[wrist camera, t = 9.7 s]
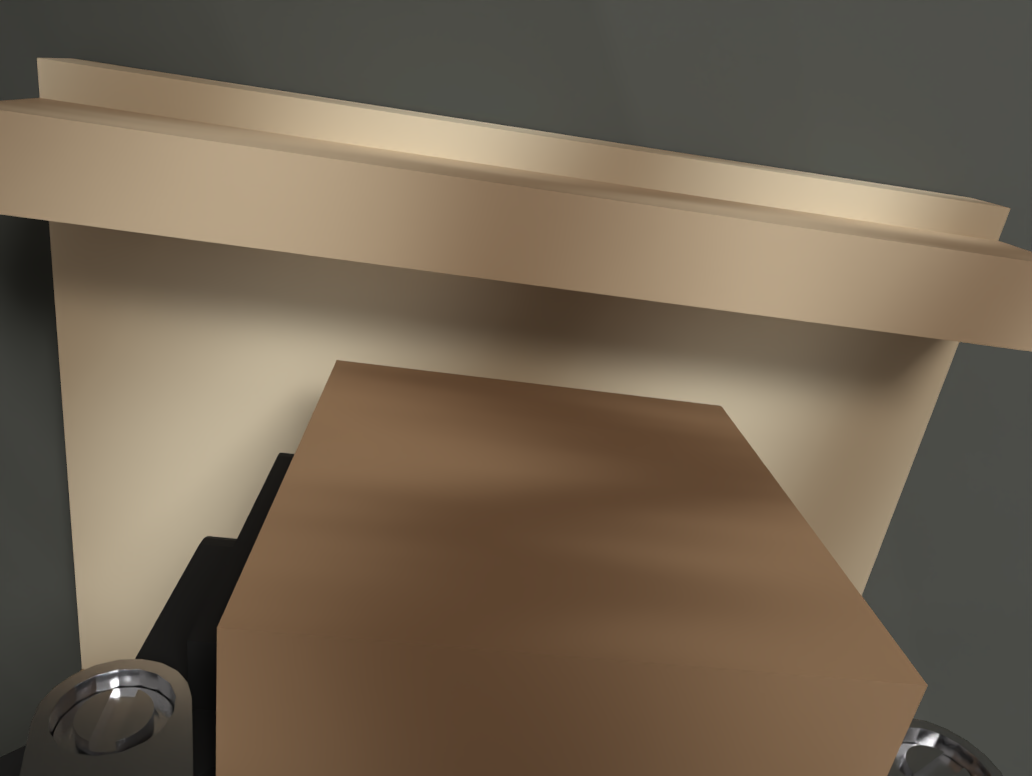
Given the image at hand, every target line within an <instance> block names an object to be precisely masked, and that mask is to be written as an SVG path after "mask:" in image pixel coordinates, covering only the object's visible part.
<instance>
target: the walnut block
mask: <svg viewBox="0 0 1032 776" xmlns="http://www.w3.org/2000/svg"><path fill="white" fill-rule="evenodd" d="M927 686H928V685H927V684H926V683H925V681H924V680H923V678H922V677H921V676H920V674H919V673H918V672H917V670H916V669H915V668H914V666H913V665H912V664H911V662H910V661H909V660H908V658H907V657H906V655H905V654H904V653H903V651H902V650H901V649H900V647H899V646H898V645H897V643H896V642H895V641H894V639H893V638H892V636H891V635H890V634H889V632H888V631H887V630H886V628H885V627H884V626H883V624H882V623H881V622H880V620H879V619H878V618H877V616H876V615H875V613H874V612H873V611H872V609H871V608H870V607H869V605H868V604H867V603H866V601H865V600H864V599H863V597H862V596H861V594H860V593H859V592H858V590H857V589H856V588H855V586H854V585H853V584H852V582H851V581H850V580H849V578H848V577H847V576H846V574H845V573H844V571H843V570H842V569H841V567H840V566H839V565H838V563H837V562H836V561H835V559H834V558H833V557H832V555H831V554H830V552H829V551H828V550H827V548H826V547H825V546H824V544H823V543H822V542H821V540H820V539H819V538H818V536H817V535H816V534H815V532H814V531H813V529H812V528H811V527H810V525H809V524H808V523H807V521H806V520H805V519H804V517H803V516H802V515H801V513H800V512H799V510H798V509H797V508H796V506H795V505H794V504H793V502H792V501H791V500H790V498H789V497H788V496H787V494H786V493H785V492H784V490H783V489H782V487H781V486H780V485H779V483H778V482H777V481H776V479H775V478H774V477H773V475H772V474H771V473H770V471H769V470H768V468H767V467H766V466H765V464H764V463H763V462H762V460H761V459H760V458H759V456H758V455H757V454H756V452H755V451H754V449H753V448H752V447H751V445H750V444H749V443H748V441H747V440H746V439H745V437H744V436H743V435H742V433H741V432H740V431H739V429H738V428H737V426H736V425H735V424H734V422H733V421H732V420H731V418H730V417H729V416H728V414H727V413H726V412H725V410H724V409H723V407H722V406H719V405H710V404H702V403H694V402H685V401H677V400H668V399H660V398H652V397H643V396H635V395H627V394H618V393H610V392H601V391H593V390H585V389H576V388H568V387H559V386H551V385H543V384H534V383H526V382H518V381H509V380H501V379H492V378H484V377H476V376H467V375H459V374H450V373H442V372H434V371H425V370H417V369H409V368H400V367H392V366H383V365H375V364H367V363H358V362H350V361H342V360H336V363H335V365H334V367H333V369H332V372H331V374H330V376H329V378H328V381H327V383H326V385H325V387H324V389H323V392H322V394H321V396H320V398H319V401H318V403H317V405H316V407H315V410H314V412H313V414H312V416H311V419H310V421H309V423H308V425H307V428H306V430H305V432H304V434H303V436H302V439H301V441H300V443H299V445H298V448H297V450H296V452H295V454H294V457H293V459H292V461H291V463H290V466H289V468H288V470H287V472H286V474H285V477H284V479H283V481H282V483H281V486H280V488H279V490H278V492H277V495H276V497H275V499H274V501H273V504H272V506H271V508H270V510H269V512H268V515H267V517H266V519H265V521H264V524H263V526H262V528H261V530H260V533H259V535H258V537H257V539H256V542H255V544H254V546H253V548H252V550H251V553H250V555H249V557H248V559H247V562H246V564H245V566H244V568H243V571H242V573H241V575H240V577H239V580H238V582H237V584H236V586H235V588H234V591H233V593H232V595H231V597H230V600H229V602H228V604H227V606H226V609H225V611H224V613H223V615H222V618H221V620H220V622H219V624H218V626H217V684H216V776H887V775H888V773H889V771H890V768H891V766H892V764H893V762H894V759H895V757H896V755H897V753H898V751H899V748H900V746H901V744H902V742H903V739H904V737H905V735H906V733H907V730H908V728H909V726H910V724H911V721H912V719H913V717H914V715H915V713H916V710H917V708H918V706H919V704H920V701H921V699H922V697H923V695H924V692H925V690H926V688H927Z"/></svg>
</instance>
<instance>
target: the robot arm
mask: <svg viewBox="0 0 1032 776" xmlns="http://www.w3.org/2000/svg"><path fill="white" fill-rule="evenodd" d="M293 457H294V454H290V453H279V454H278V456H277V458H276V460H275V462H274V464H273V466H272V468H271V470H270V472H269V474H268V476H267V478H266V480H265V483H264V485H263V487H262V489H261V491H260V493H259V495H258V497H257V499H256V501H255V503H254V505H253V507H252V509H251V511H250V513H249V515H248V517H247V519H246V521H245V523H244V526H243V528H242V530H241V532H240V534H239V536H238V538H237V539H235V538H224V537H214V536H207V537H205V538H203V540H202V541H201V543H200V544H199V546H198V547H197V549H196V551H195V553H194V555H193V556H192V558H191V560H190V562H189V563H188V565H187V567H186V569H185V571H184V572H183V574H182V576H181V578H180V579H179V581H178V583H177V585H176V587H175V588H174V590H173V592H172V594H171V596H170V597H169V599H168V601H167V603H166V604H165V606H164V608H163V610H162V612H161V613H160V615H159V617H158V619H157V620H156V622H155V624H154V626H153V628H152V629H151V631H150V633H149V635H148V636H147V638H146V640H145V642H144V644H143V645H142V647H141V649H140V651H139V652H138V654H137V656H136V658H135V659H126V660H116V661H111V662H107V663H102V664H98V665H94V666H92V667H90V668H87V669H85V670H83V671H80V672H78V673H76V674H73V675H72V676H70V677H69V678H67V679H66V680H64V681H63V682H62V683H60V684H59V685H57V686H56V687H54V688H53V689H52V690H51V691H50V692H49V693H48V695H47V696H46V697H45V698H44V699H43V700H42V701H41V702H40V703H39V705H38V707H37V709H36V711H35V714H34V716H33V718H32V721H31V724H30V728H29V733H28V738H27V742H26V746H24V747H22V748H19V749H17V750H15V751H13V752H11V753H9V754H7V755H4V756H2V757H0V776H216V684H217V626H218V624H219V622H220V620H221V618H222V615H223V613H224V611H225V609H226V606H227V604H228V602H229V600H230V597H231V595H232V593H233V591H234V588H235V586H236V584H237V582H238V580H239V577H240V575H241V573H242V571H243V568H244V566H245V564H246V562H247V559H248V557H249V555H250V553H251V550H252V548H253V546H254V544H255V542H256V539H257V537H258V535H259V533H260V530H261V528H262V526H263V524H264V521H265V519H266V517H267V515H268V512H269V510H270V508H271V506H272V504H273V501H274V499H275V497H276V495H277V492H278V490H279V488H280V486H281V483H282V481H283V479H284V477H285V474H286V472H287V470H288V468H289V466H290V463H291V461H292V459H293ZM887 776H1003V775H1002V773H1001V771H1000V770H999V769H998V768H997V767H996V766H995V765H994V764H993V763H992V761H991V760H990V759H989V758H988V757H987V756H986V755H985V754H984V753H982V752H981V751H980V750H979V749H977V748H976V747H975V746H974V745H972V744H971V743H970V742H969V741H967V740H965V739H964V738H962V737H960V736H959V735H957V734H955V733H953V732H952V731H950V730H948V729H946V728H943V727H941V726H938V725H936V724H933V723H931V722H928V721H924V720H919V719H912V721H911V724H910V726H909V728H908V730H907V733H906V735H905V737H904V739H903V742H902V744H901V746H900V748H899V751H898V753H897V755H896V757H895V759H894V762H893V764H892V766H891V768H890V771H889V773H888V775H887Z"/></svg>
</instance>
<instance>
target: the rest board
mask: <svg viewBox="0 0 1032 776" xmlns="http://www.w3.org/2000/svg"><path fill="white" fill-rule="evenodd" d="M37 66H38V79H39V93H40V98H31V99H18V100H5V101H0V214H2V215H9V216H17V217H25V218H32V219H40V220H47V221H49V228H50V242H51V255H52V269H53V282H54V296H55V310H56V323H57V337H58V350H59V364H60V377H61V391H62V404H63V418H64V431H65V445H66V459H67V472H68V486H69V499H70V513H71V526H72V540H73V553H74V567H75V581H76V594H77V608H78V621H79V635H80V648H81V662H82V669H81V671H83V670H85V669H87V668H90V667H92V666H94V665H98V664H102V663H107V662H111V661H116V660H126V659H135V658H136V656H137V654H138V652H139V651H140V649H141V647H142V645H143V644H144V642H145V640H146V638H147V636H148V635H149V633H150V631H151V629H152V628H153V626H154V624H155V622H156V620H157V619H158V617H159V615H160V613H161V612H162V610H163V608H164V606H165V604H166V603H167V601H168V599H169V597H170V596H171V594H172V592H173V590H174V588H175V587H176V585H177V583H178V581H179V579H180V578H181V576H182V574H183V572H184V571H185V569H186V567H187V565H188V563H189V562H190V560H191V558H192V556H193V555H194V553H195V551H196V549H197V547H198V546H199V544H200V543H201V541H202V540H203V538H205V537H207V536H214V537H224V538H235V539H237V538H238V536H239V534H240V532H241V530H242V528H243V526H244V523H245V521H246V519H247V517H248V515H249V513H250V511H251V509H252V507H253V505H254V503H255V501H256V499H257V497H258V495H259V493H260V491H261V489H262V487H263V485H264V483H265V480H266V478H267V476H268V474H269V472H270V470H271V468H272V466H273V464H274V462H275V460H276V458H277V456H278V454H279V453H290V454H295V452H296V450H297V448H298V445H299V443H300V441H301V439H302V436H303V434H304V432H305V430H306V428H307V425H308V423H309V421H310V419H311V416H312V414H313V412H314V410H315V407H316V405H317V403H318V401H319V398H320V396H321V394H322V392H323V389H324V387H325V385H326V383H327V381H328V378H329V376H330V374H331V372H332V369H333V367H334V365H335V363H336V360H342V361H350V362H358V363H367V364H375V365H383V366H392V367H400V368H409V369H417V370H425V371H434V372H442V373H450V374H459V375H467V376H476V377H484V378H492V379H501V380H509V381H518V382H526V383H534V384H543V385H551V386H559V387H568V388H576V389H585V390H593V391H601V392H610V393H618V394H627V395H635V396H643V397H652V398H660V399H668V400H677V401H685V402H694V403H702V404H710V405H719V406H722V407H723V409H724V410H725V412H726V413H727V414H728V416H729V417H730V418H731V420H732V421H733V422H734V424H735V425H736V426H737V428H738V429H739V431H740V432H741V433H742V435H743V436H744V437H745V439H746V440H747V441H748V443H749V444H750V445H751V447H752V448H753V449H754V451H755V452H756V454H757V455H758V456H759V458H760V459H761V460H762V462H763V463H764V464H765V466H766V467H767V468H768V470H769V471H770V473H771V474H772V475H773V477H774V478H775V479H776V481H777V482H778V483H779V485H780V486H781V487H782V489H783V490H784V492H785V493H786V494H787V496H788V497H789V498H790V500H791V501H792V502H793V504H794V505H795V506H796V508H797V509H798V510H799V512H800V513H801V515H802V516H803V517H804V519H805V520H806V521H807V523H808V524H809V525H810V527H811V528H812V529H813V531H814V532H815V534H816V535H817V536H818V538H819V539H820V540H821V542H822V543H823V544H824V546H825V547H826V548H827V550H828V551H829V552H830V554H831V555H832V557H833V558H834V559H835V561H836V562H837V563H838V565H839V566H840V567H841V569H842V570H843V571H844V573H845V574H846V576H847V577H848V578H849V580H850V581H851V582H852V584H853V585H854V586H855V588H856V589H857V590H858V592H859V593H860V594H861V596H862V593H863V591H864V588H865V586H866V583H867V580H868V578H869V575H870V573H871V570H872V567H873V565H874V562H875V560H876V557H877V554H878V552H879V549H880V546H881V544H882V541H883V539H884V536H885V533H886V531H887V528H888V526H889V523H890V520H891V518H892V515H893V513H894V510H895V507H896V505H897V502H898V500H899V497H900V494H901V492H902V489H903V487H904V484H905V481H906V479H907V476H908V474H909V471H910V468H911V466H912V463H913V461H914V458H915V455H916V453H917V450H918V448H919V445H920V442H921V440H922V437H923V435H924V432H925V429H926V427H927V424H928V422H929V419H930V416H931V414H932V411H933V409H934V406H935V403H936V401H937V398H938V396H939V393H940V390H941V388H942V385H943V383H944V380H945V377H946V375H947V372H948V370H949V367H950V364H951V362H952V359H953V357H954V354H955V351H956V349H957V346H958V344H959V342H964V343H972V344H979V345H987V346H994V347H1002V348H1009V349H1017V350H1024V351H1032V252H1030V251H1027V250H1024V249H1021V248H1018V247H1015V246H1012V245H1009V244H1006V243H1003V242H1000V241H998V240H999V237H1000V234H1001V232H1002V229H1003V227H1004V224H1005V221H1006V219H1007V216H1008V214H1009V211H1010V208H1008V207H1004V206H1000V205H996V204H992V203H989V202H985V201H981V200H977V199H973V198H969V197H962V196H956V195H949V194H943V193H936V192H930V191H923V190H917V189H911V188H904V187H898V186H891V185H885V184H878V183H872V182H865V181H859V180H853V179H846V178H840V177H833V176H827V175H820V174H814V173H807V172H801V171H795V170H788V169H782V168H775V167H769V166H762V165H756V164H749V163H743V162H737V161H730V160H724V159H717V158H711V157H704V156H698V155H692V154H685V153H679V152H672V151H666V150H659V149H653V148H646V147H640V146H634V145H627V144H621V143H614V142H608V141H601V140H595V139H588V138H582V137H576V136H569V135H563V134H556V133H550V132H543V131H537V130H530V129H524V128H518V127H511V126H505V125H498V124H492V123H485V122H479V121H472V120H466V119H460V118H453V117H447V116H440V115H434V114H427V113H421V112H414V111H408V110H402V109H395V108H389V107H382V106H376V105H369V104H363V103H356V102H350V101H344V100H337V99H331V98H324V97H318V96H311V95H305V94H298V93H292V92H286V91H279V90H273V89H266V88H260V87H253V86H247V85H240V84H234V83H228V82H221V81H215V80H208V79H202V78H195V77H189V76H182V75H176V74H170V73H163V72H157V71H150V70H144V69H137V68H131V67H124V66H118V65H112V64H105V63H99V62H92V61H86V60H79V59H73V58H37Z"/></svg>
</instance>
